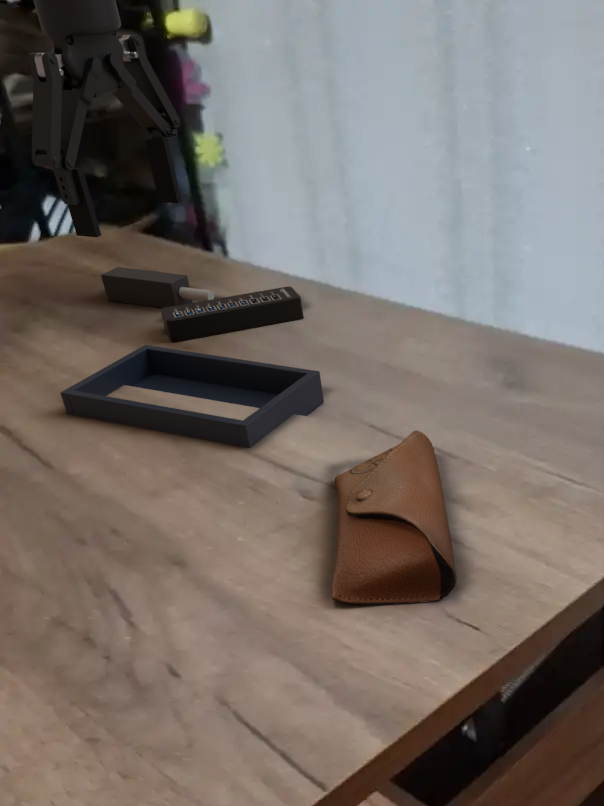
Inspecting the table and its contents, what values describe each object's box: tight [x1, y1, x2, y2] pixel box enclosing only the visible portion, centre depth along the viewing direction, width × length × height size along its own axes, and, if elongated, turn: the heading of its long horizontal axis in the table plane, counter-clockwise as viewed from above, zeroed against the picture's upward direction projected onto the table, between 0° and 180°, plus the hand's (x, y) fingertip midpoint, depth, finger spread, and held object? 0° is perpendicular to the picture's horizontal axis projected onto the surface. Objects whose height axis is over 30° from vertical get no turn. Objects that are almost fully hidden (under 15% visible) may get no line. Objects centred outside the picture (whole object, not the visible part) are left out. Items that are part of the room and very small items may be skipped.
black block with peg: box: [100, 266, 215, 309], centre depth 109 cm, size 14×3×3 cm, turn 66°
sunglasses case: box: [331, 430, 457, 606], centre depth 68 cm, size 18×7×7 cm
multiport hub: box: [160, 286, 304, 343], centre depth 103 cm, size 4×14×2 cm, turn 114°
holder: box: [59, 344, 325, 449], centre depth 85 cm, size 20×12×3 cm, turn 66°
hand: (131, 218), depth 105 cm, fingers open, 13 cm apart
